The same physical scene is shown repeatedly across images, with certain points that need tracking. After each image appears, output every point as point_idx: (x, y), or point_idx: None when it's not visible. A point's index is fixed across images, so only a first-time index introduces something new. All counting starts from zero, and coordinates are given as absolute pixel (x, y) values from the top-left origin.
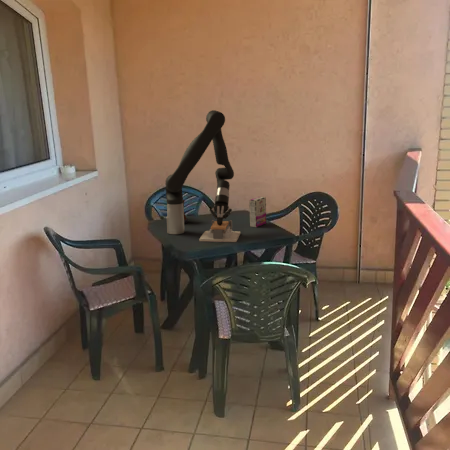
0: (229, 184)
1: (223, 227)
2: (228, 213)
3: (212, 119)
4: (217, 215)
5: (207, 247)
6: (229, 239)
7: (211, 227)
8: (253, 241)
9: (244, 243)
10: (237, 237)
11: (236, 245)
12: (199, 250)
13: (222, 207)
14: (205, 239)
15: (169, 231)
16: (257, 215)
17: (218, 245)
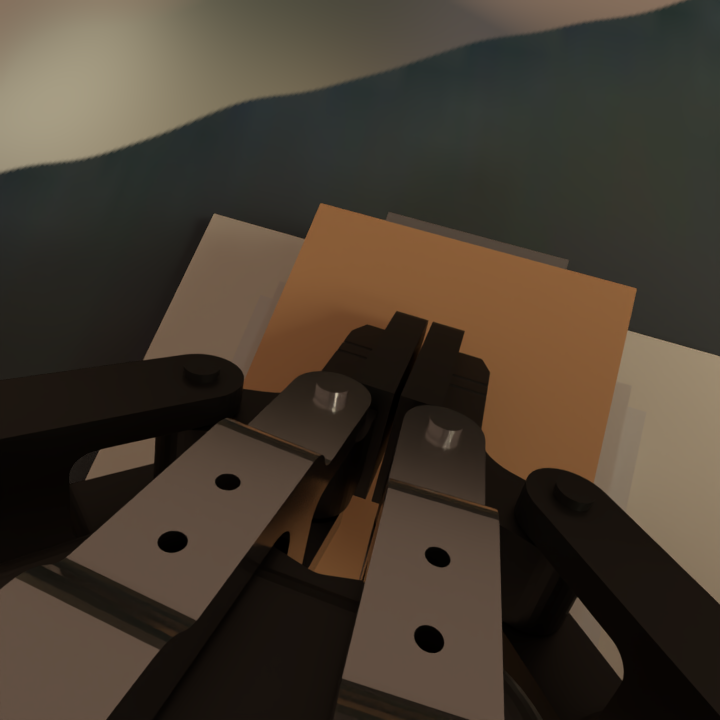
0: None
1: (357, 215)
2: (11, 403)
3: None
4: (476, 463)
5: (614, 96)
6: (298, 246)
7: (613, 288)
8: (12, 212)
9: (145, 159)
10: (159, 330)
11: (258, 106)
12: (710, 15)
13: (64, 666)
14: (654, 340)
15: None
16: None
17: (471, 143)
